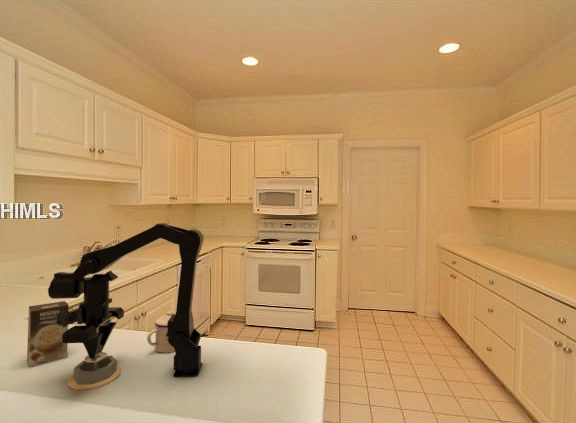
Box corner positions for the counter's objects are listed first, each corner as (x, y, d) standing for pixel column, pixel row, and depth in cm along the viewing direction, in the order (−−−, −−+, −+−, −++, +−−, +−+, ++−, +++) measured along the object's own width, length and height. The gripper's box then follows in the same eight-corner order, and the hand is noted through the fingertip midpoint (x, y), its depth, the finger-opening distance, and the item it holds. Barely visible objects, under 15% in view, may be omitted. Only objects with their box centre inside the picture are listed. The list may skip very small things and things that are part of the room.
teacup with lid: (174, 338, 104) (174, 305, 104) (189, 346, 99) (190, 311, 99) (140, 351, 95) (140, 314, 95) (155, 360, 89) (155, 321, 89)
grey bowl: (129, 364, 86) (129, 352, 86) (106, 389, 74) (106, 375, 74) (86, 366, 85) (86, 353, 85) (56, 391, 73) (56, 376, 73)
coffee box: (28, 368, 84) (29, 311, 84) (26, 360, 89) (27, 306, 89) (68, 357, 90) (68, 304, 90) (64, 350, 95) (65, 300, 95)
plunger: (110, 362, 82) (110, 338, 83) (100, 372, 78) (100, 346, 78) (91, 363, 82) (91, 339, 82) (80, 373, 77) (80, 347, 77)
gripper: (86, 288, 89) (85, 340, 89) (38, 308, 70) (37, 375, 70) (125, 288, 89) (124, 340, 89) (87, 308, 71) (86, 373, 71)
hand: (95, 355), depth 80 cm, fingers closed on plunger, 3 cm apart
